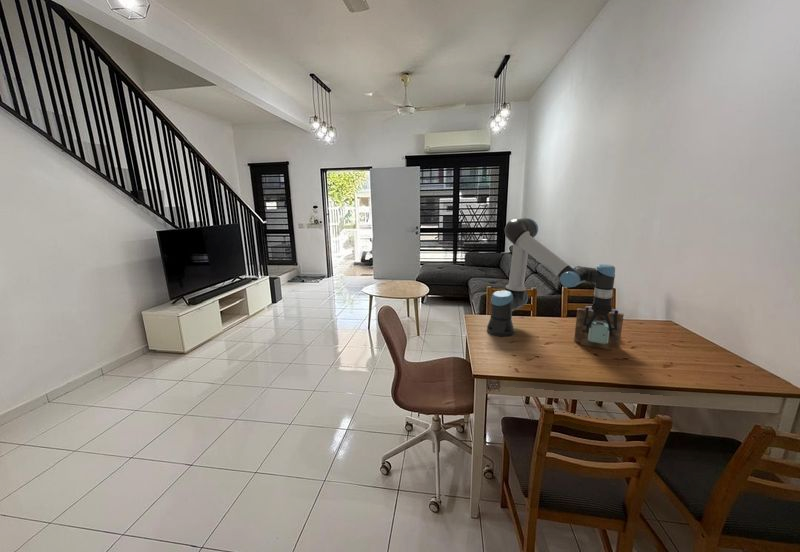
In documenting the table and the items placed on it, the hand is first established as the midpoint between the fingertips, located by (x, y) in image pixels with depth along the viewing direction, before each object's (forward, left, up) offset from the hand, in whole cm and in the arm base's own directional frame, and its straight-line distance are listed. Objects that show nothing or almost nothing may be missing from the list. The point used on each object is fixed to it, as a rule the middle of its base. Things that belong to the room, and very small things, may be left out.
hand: (597, 340), depth 159 cm
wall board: (0, +6, -5) cm, 8 cm away
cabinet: (0, +1, 0) cm, 1 cm away
